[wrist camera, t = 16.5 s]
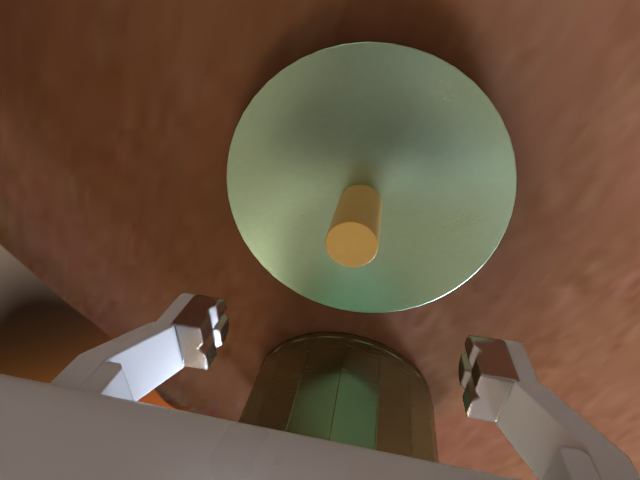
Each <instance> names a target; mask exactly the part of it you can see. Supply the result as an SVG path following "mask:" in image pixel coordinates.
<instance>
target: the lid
mask: <svg viewBox="0 0 640 480" xmlns="http://www.w3.org/2000/svg"><path fill="white" fill-rule="evenodd" d="M226 181H227V191H228V198H229V203H230V207H231V212H232V215H233V217H234V220H235V223H236V226H237V228H238V230H239V232H240V234H241V236H242V238H243V240H244V242H245V243H246V245H247V246H248V248H249V249H250V251H251V252H252V254H253V255H254V256H255V257H256V259H257V260H258V261H259V262H260V263H261V265H262V266H263V267H264V268H265V269H266V270H267V271H268V272H269V273H270V274H272V275H273V276H274V277H275V278H276V279H277V280H279V281H280V282H281V283H283V284H284V285H285V286H287V287H288V288H290V289H292V290H293V291H295V292H296V293H298V294H300V295H302V296H304V297H306V298H308V299H310V300H312V301H315V302H318V303H320V304H323V305H326V306H329V307H333V308H337V309H340V310H346V311H353V312H363V313H384V312H393V311H400V310H405V309H409V308H413V307H418V306H421V305H423V304H426V303H429V302H431V301H434V300H436V299H438V298H440V297H442V296H444V295H446V294H448V293H450V292H451V291H453V290H454V289H456V288H457V287H459V286H461V285H462V284H463V283H465V282H466V281H467V280H468V279H469V278H471V277H472V276H473V275H474V274H475V273H476V272H477V271H478V270H479V269H480V268H481V267H482V266H483V265H484V264H485V263H486V262H487V261H488V259H489V258H490V256H491V255H492V254H493V252H494V251H495V249H496V248H497V247H498V245H499V243H500V241H501V239H502V237H503V235H504V233H505V232H506V229H507V227H508V224H509V221H510V218H511V216H512V213H513V208H514V203H515V198H516V190H517V168H516V159H515V153H514V149H513V145H512V142H511V138H510V135H509V132H508V130H507V128H506V126H505V124H504V121H503V119H502V117H501V115H500V114H499V112H498V111H497V109H496V108H495V106H494V105H493V103H492V102H491V100H490V99H489V97H488V96H487V95H486V94H485V93H484V92H483V91H482V90H481V89H480V87H479V86H478V85H477V84H476V83H475V82H474V81H473V80H472V79H470V78H469V77H468V76H466V75H465V74H464V73H463V72H461V71H460V70H459V69H458V68H456V67H455V66H453V65H451V64H449V63H448V62H446V61H444V60H442V59H441V58H439V57H437V56H435V55H433V54H430V53H427V52H425V51H422V50H419V49H416V48H414V47H410V46H405V45H400V44H395V43H390V42H371V41H366V42H356V43H345V44H341V45H337V46H333V47H329V48H325V49H321V50H319V51H316V52H314V53H312V54H309V55H307V56H304V57H302V58H300V59H298V60H297V61H295V62H294V63H292V64H290V65H289V66H287V67H285V68H284V69H282V70H281V71H280V72H279V73H277V74H276V75H275V76H274V77H273V78H271V79H270V80H269V81H268V82H267V83H266V84H265V85H264V86H263V87H262V88H261V89H260V90H259V92H258V93H257V94H256V95H255V96H254V97H253V99H252V100H251V102H250V103H249V105H248V106H247V108H246V109H245V111H244V112H243V114H242V116H241V118H240V120H239V122H238V125H237V127H236V129H235V132H234V135H233V138H232V141H231V144H230V149H229V155H228V160H227V180H226Z"/></svg>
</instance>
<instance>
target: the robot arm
mask: <svg viewBox="0 0 640 480" xmlns="http://www.w3.org/2000/svg"><path fill="white" fill-rule="evenodd" d="M226 308H227V307H226V302H225V300H223V299H220V298H214V297H208V296H203V295H195V294H189V293H182V294H180V295H179V296H178V297H177V299H176V300H175V301H174V302H173V303H172V304H171V305H170V306H169V308H168V309H167V310H166V311H165V312H164V313H163V314H162V315H161V317H160V318H159V319H158V320H157V321H156V322H150V323H148V324H145V325H143V326H141V327H139V328H137V329H134V330H132V331H130V332H128V333H126V334H124V335H121V336H119V337H117V338H115V339H113V340H110V341H109V342H106V343H104V344H102V345H99V346H97V347H95V348H93V349H91V350H88V351H86V352H84V353H82V354H80V355H79V356H77V357H76V358H75V359H74V360H73V361H72V362H71V363H70V364H69V365H68V366H67V367H66V368H65V369H64V370H63V371H62V372H61V373H60V374H59V375H58V376H57V377H56V378H55V379H54V380H53V381H52V382H51V383H49V384H48V383H43V382H38V381H34V380H29V379H24V378H19V377H14V376H9V375H4V374H0V480H521V479H516V478H511V477H506V476H501V475H496V474H491V473H487V472H482V471H477V470H472V469H467V468H462V467H457V466H452V465H447V464H442V463H437V462H433V461H428V460H423V459H418V458H413V457H408V456H403V455H398V454H393V453H388V452H383V451H378V450H373V449H368V448H364V447H359V446H354V445H349V444H344V443H339V442H334V441H329V440H324V439H319V438H314V437H309V436H304V435H300V434H295V433H290V432H285V431H280V430H275V429H270V428H265V427H260V426H255V425H250V424H246V423H241V422H236V421H231V420H226V419H221V418H216V417H211V416H206V415H201V414H196V413H191V412H186V411H182V410H177V409H172V408H166V407H162V406H157V405H151V404H147V403H142V402H137V400H139V399H140V398H141V397H143V396H144V395H146V394H147V393H149V392H150V391H151V390H153V389H154V388H156V387H157V386H158V385H160V384H161V383H163V382H164V381H165V380H167V379H168V378H170V377H171V376H172V375H174V374H175V373H177V372H178V371H179V370H181V369H182V368H184V366H188V367H195V368H201V369H208V368H209V366H210V364H211V363H212V361H213V359H214V358H215V356H216V348H217V347H219V346H221V345H222V344H223V342H224V341H225V339H226V336H227V333H228V326H229V322H228V317H227V316H226V315H225V314H224V312H225V310H226ZM465 348H466V352H464V353H463V354H461V358H460V362H459V380H460V385H461V386H462V387H463V388H464V389H465V391H464V394H463V402H464V407H465V412H466V416H467V417H472V418H476V419H481V420H486V421H491V422H496V424H497V426H498V427H499V428H500V430H501V431H502V432H503V434H504V435H505V436H506V438H507V439H508V440H509V441H510V443H511V444H512V445H513V447H514V448H515V449H516V451H517V452H518V453H519V455H520V456H521V457H522V458H523V460H524V461H525V462H526V464H527V465H528V466H529V468H530V469H531V470H532V472H533V473H534V474H535V475H536V477H537V478H538V479H539V480H640V476H639V474H638V472H637V471H636V469H635V467H634V465H633V464H632V462H631V460H630V458H629V457H628V456H627V455H626V454H625V453H623V452H622V451H621V450H620V449H619V448H618V447H616V446H615V445H614V444H613V443H612V442H611V441H609V440H608V439H607V438H606V437H605V436H604V435H602V434H601V433H600V432H599V431H598V430H597V429H595V428H594V427H593V426H592V425H591V424H590V423H588V422H587V421H586V420H585V419H584V418H583V417H581V416H580V415H579V414H578V413H577V412H576V411H575V410H573V409H572V408H571V407H570V406H569V405H568V404H566V403H565V402H564V401H563V400H562V399H561V398H559V397H558V396H557V395H556V394H555V393H554V392H552V391H551V390H550V389H549V388H548V387H547V386H542V385H540V382H539V380H538V378H537V375H536V373H535V371H534V369H533V366H532V364H531V362H530V359H529V357H528V355H527V353H526V350H525V348H524V346H523V344H522V343H521V342H518V341H510V340H500V339H493V338H486V337H479V336H472V335H469V336H468V337H467V339H466V342H465Z"/></svg>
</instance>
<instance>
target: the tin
mask: <svg viewBox="0 0 640 480" xmlns="http://www.w3.org/2000/svg"><path fill="white" fill-rule="evenodd" d="M239 422H241V423H246V424H250V425H255V426H260V427H265V428H270V429H275V430H280V431H285V432H290V433H295V434H300V435H304V436H309V437H314V438H319V439H324V440H329V441H334V442H339V443H344V444H349V445H354V446H359V447H364V448H368V449H373V450H378V451H383V452H388V453H393V454H398V455H403V456H408V457H413V458H418V459H423V460H428V461H433V462H437V463H439V461H438V451H437V441H436V431H435V421H434V410H433V405H432V401H431V394H430V391H429V388H428V385H427V383H426V381H425V380H424V378H423V376H422V375H421V374H420V372H419V371H418V370H417V369H416V368H415V367H414V366H413V365H412V364H411V362H409V361H408V360H407V359H406V358H404V357H403V356H402V355H400V354H399V353H397V352H395V351H394V350H392V349H391V348H389V347H386V346H384V345H382V344H380V343H378V342H375V341H372V340H370V339H367V338H363V337H359V336H356V335H350V334H344V333H332V332H326V333H312V334H306V335H302V336H298V337H295V338H292V339H290V340H287V341H285V342H284V343H282V344H280V345H278V346H277V347H276V348H275V349H273V350H272V351H271V352H270V354H269V355H268V356H267V357H266V359H265V360H264V362H263V364H262V367H261V369H260V371H259V373H258V376H257V378H256V380H255V383H254V385H253V388H252V390H251V393H250V395H249V397H248V400H247V402H246V405H245V407H244V410H243V412H242V414H241V417H240V419H239Z"/></svg>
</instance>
